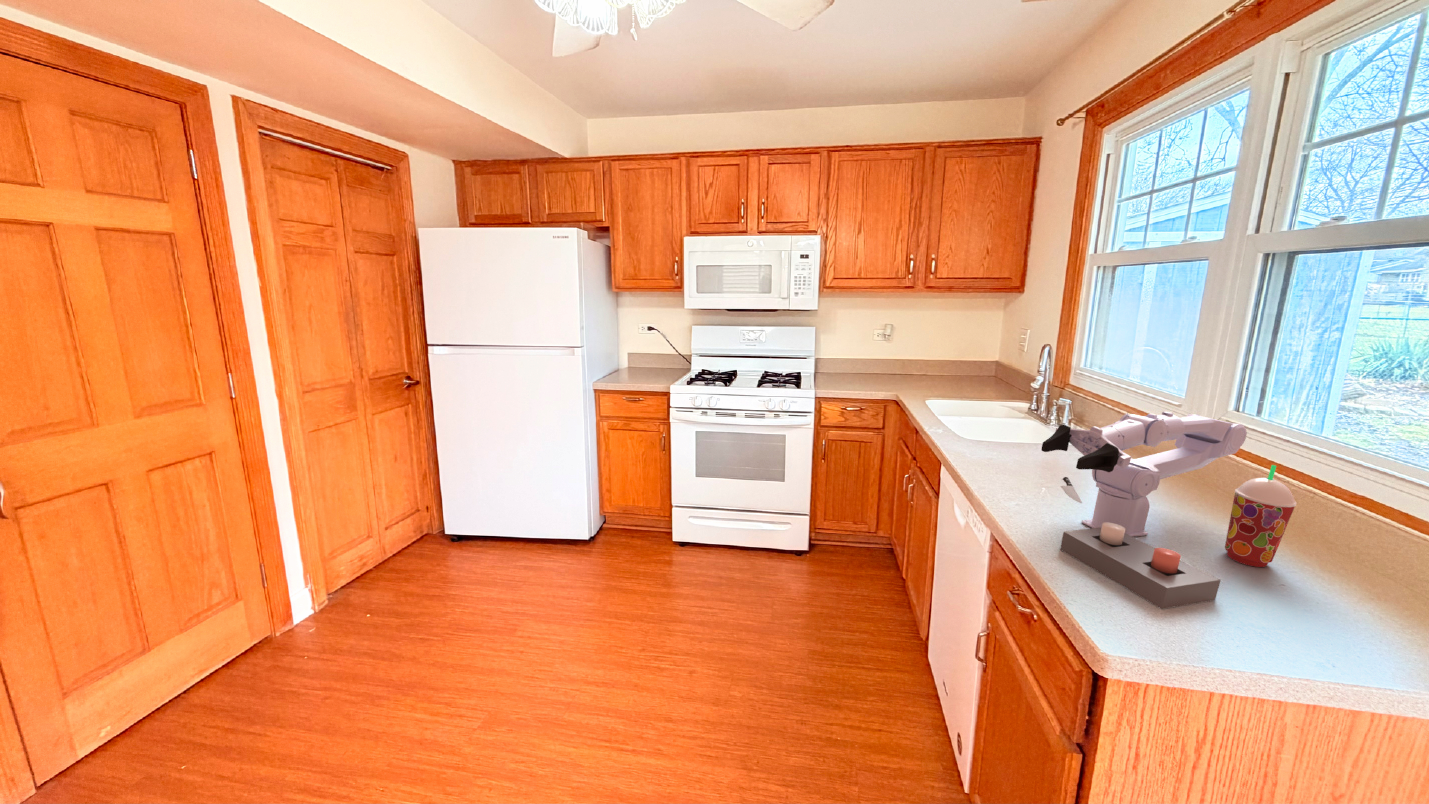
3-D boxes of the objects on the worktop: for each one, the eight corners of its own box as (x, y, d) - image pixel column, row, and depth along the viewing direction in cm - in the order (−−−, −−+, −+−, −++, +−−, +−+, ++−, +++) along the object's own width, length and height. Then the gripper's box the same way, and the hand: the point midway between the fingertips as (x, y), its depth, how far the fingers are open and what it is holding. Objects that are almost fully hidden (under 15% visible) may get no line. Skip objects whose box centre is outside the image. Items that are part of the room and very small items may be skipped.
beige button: (1109, 535, 106) (1112, 521, 105) (1126, 544, 102) (1130, 530, 101) (1094, 537, 105) (1097, 523, 104) (1112, 546, 101) (1115, 531, 101)
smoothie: (1259, 553, 108) (1287, 461, 103) (1287, 575, 100) (1318, 476, 95) (1209, 546, 111) (1234, 455, 106) (1232, 566, 103) (1259, 469, 98)
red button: (1161, 561, 96) (1164, 546, 95) (1182, 572, 93) (1186, 556, 92) (1145, 563, 95) (1149, 548, 95) (1166, 574, 92) (1170, 559, 91)
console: (1106, 543, 111) (1110, 526, 110) (1214, 600, 92) (1220, 579, 91) (1060, 549, 108) (1063, 531, 107) (1161, 609, 89) (1167, 587, 88)
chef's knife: (1069, 505, 130) (1083, 507, 129) (1069, 501, 130) (1084, 502, 129) (1054, 478, 147) (1067, 479, 146) (1055, 474, 147) (1068, 475, 146)
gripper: (1080, 409, 114) (1032, 423, 110) (1151, 437, 102) (1100, 454, 98) (1074, 437, 117) (1026, 452, 113) (1142, 468, 105) (1092, 486, 101)
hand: (1060, 455), depth 106 cm, fingers open, 7 cm apart
